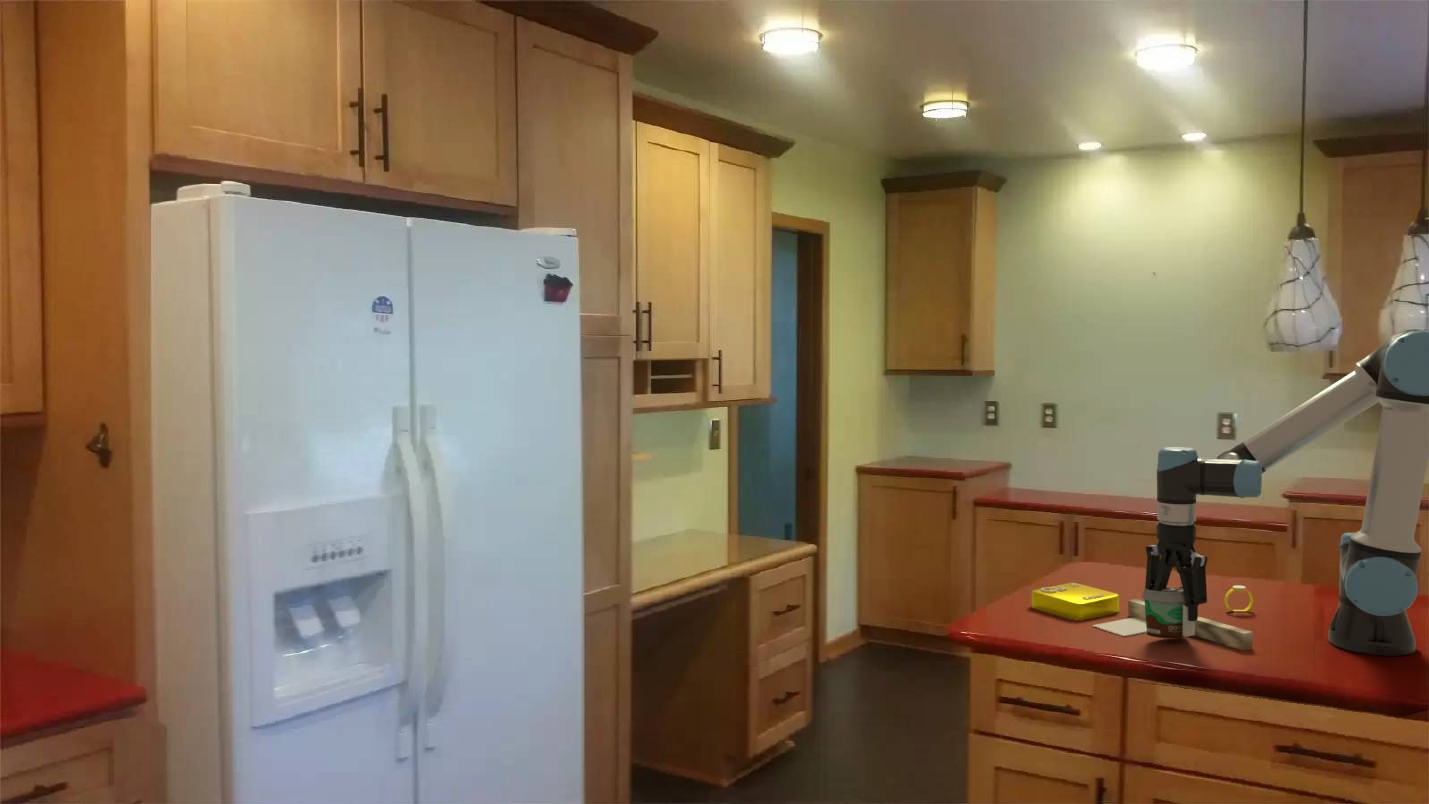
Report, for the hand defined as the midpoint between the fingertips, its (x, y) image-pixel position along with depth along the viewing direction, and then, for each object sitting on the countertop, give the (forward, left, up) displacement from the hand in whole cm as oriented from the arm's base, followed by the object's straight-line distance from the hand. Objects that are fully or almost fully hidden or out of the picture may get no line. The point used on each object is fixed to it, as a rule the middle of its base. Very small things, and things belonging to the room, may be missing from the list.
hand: (1174, 631), depth 222 cm
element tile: (+29, -1, -3) cm, 29 cm away
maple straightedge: (+4, -8, -2) cm, 9 cm away
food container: (0, 0, -1) cm, 1 cm away
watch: (+9, -31, -3) cm, 32 cm away
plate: (+12, 0, -2) cm, 12 cm away
